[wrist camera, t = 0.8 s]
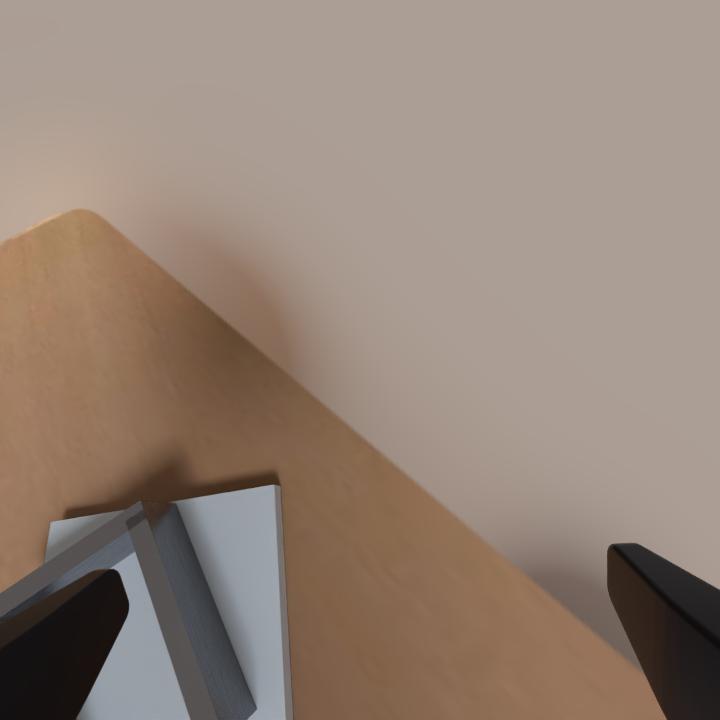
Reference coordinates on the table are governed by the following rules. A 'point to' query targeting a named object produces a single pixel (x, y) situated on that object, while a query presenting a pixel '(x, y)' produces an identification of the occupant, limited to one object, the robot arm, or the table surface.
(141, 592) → the door panel
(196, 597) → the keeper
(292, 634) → the table surface
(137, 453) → the table surface
